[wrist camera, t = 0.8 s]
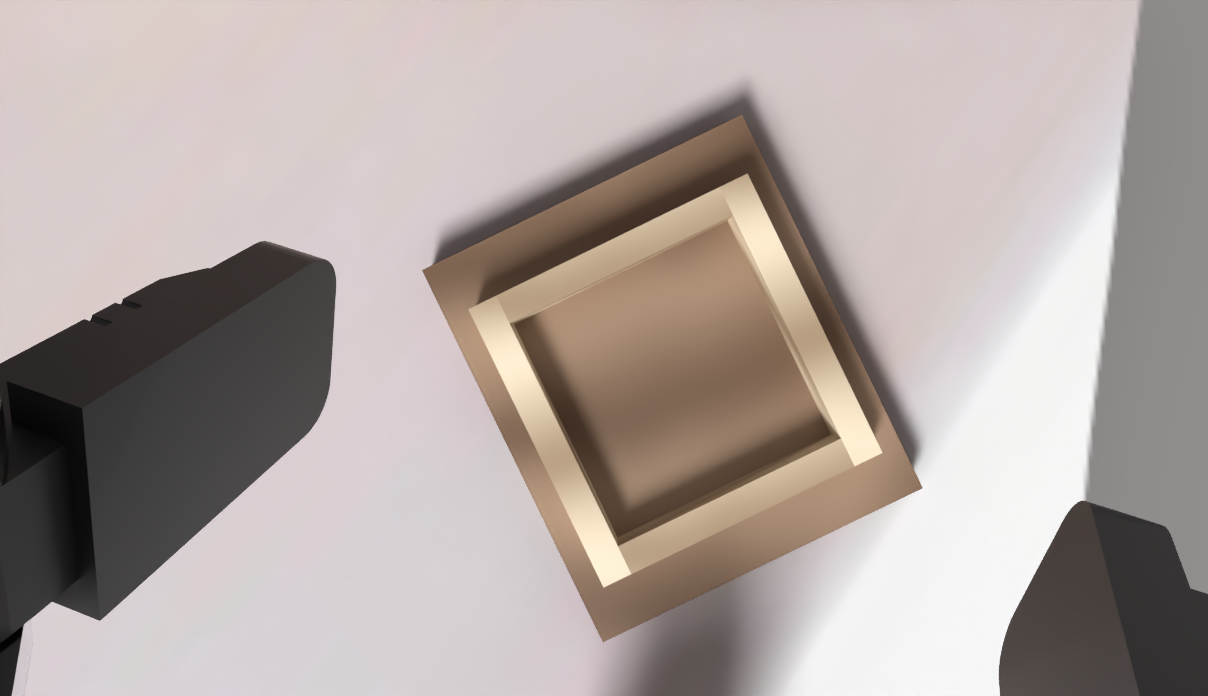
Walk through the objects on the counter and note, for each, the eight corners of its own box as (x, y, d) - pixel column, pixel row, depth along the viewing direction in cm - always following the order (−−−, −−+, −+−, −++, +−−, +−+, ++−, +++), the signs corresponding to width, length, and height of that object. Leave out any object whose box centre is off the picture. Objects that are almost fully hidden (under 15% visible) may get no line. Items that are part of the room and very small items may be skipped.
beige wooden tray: (430, 272, 35) (413, 267, 32) (736, 124, 34) (748, 103, 31) (603, 629, 35) (602, 656, 32) (908, 481, 35) (937, 495, 32)
